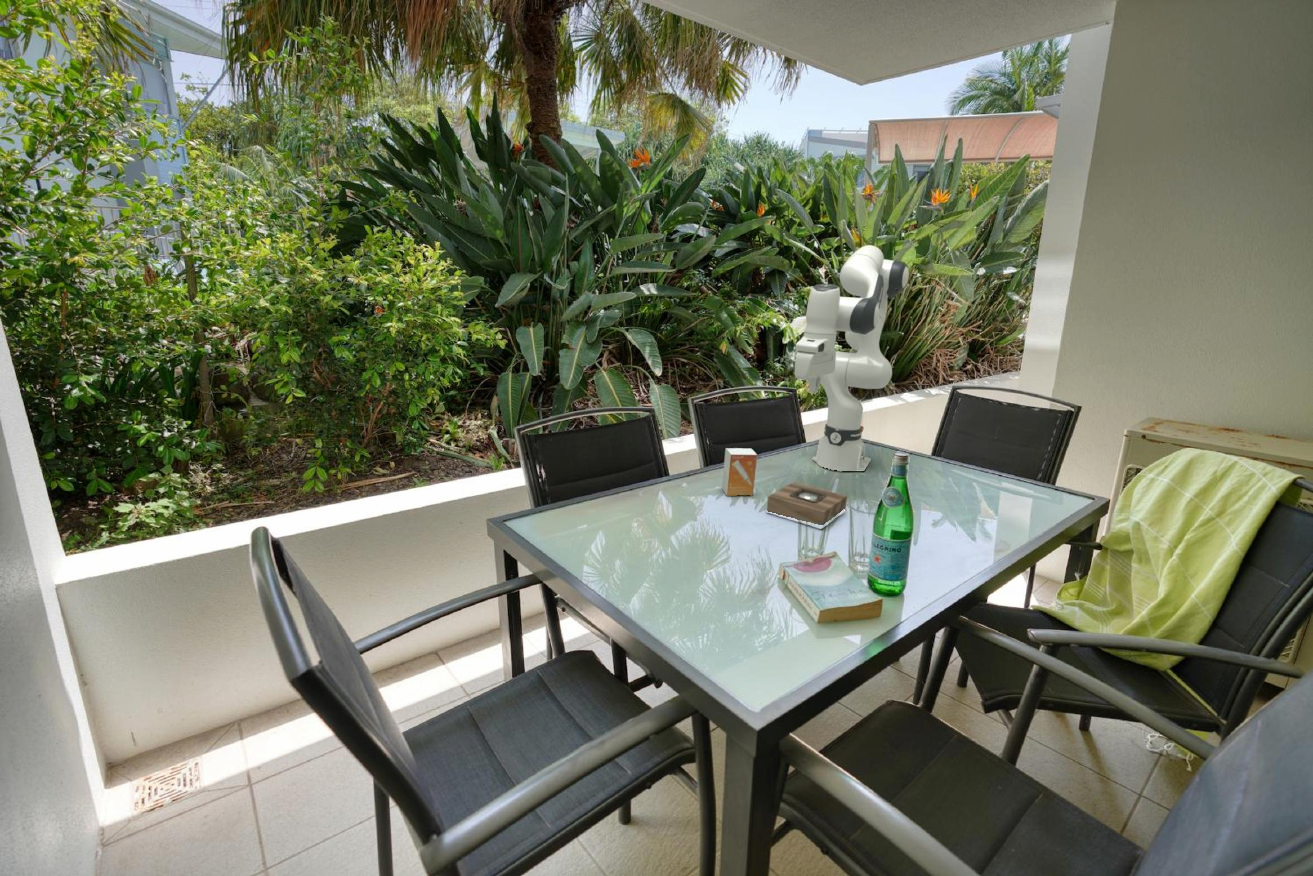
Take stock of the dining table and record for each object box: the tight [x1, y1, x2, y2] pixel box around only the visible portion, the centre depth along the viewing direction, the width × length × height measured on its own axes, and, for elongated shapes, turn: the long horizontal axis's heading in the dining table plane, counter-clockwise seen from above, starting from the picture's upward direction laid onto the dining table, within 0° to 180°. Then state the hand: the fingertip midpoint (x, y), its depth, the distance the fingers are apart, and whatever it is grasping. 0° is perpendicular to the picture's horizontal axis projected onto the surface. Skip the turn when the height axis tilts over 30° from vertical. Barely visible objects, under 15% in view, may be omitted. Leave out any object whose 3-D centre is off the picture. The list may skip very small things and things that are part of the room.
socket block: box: [766, 481, 848, 525], centre depth 170 cm, size 16×16×5 cm
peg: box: [799, 493, 817, 501], centre depth 170 cm, size 5×5×5 cm
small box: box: [721, 447, 758, 497], centre depth 181 cm, size 8×6×13 cm
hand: (813, 391), depth 177 cm, fingers closed
